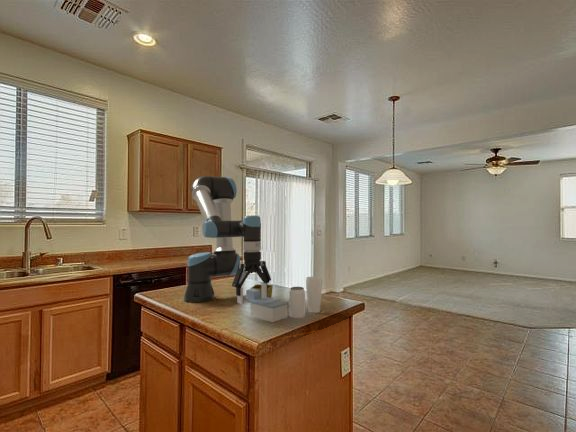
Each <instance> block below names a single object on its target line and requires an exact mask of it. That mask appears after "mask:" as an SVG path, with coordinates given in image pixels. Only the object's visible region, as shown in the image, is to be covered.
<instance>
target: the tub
mask: <svg viewBox="0 0 576 432" xmlns="http://www.w3.org/2000/svg"><path fill="white" fill-rule="evenodd" d="M250 317H254V318H258V319H260V320H263V321H267V322H270V323H275V322H278V321H280V320H284V319H286V318H287V305H284V306H280V307H277V308H273V309H271V308H268V307H264V306H260V305H256V304H253V303H250Z"/></svg>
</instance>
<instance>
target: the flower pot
mask: <svg viewBox="0 0 576 432" xmlns="http://www.w3.org/2000/svg"><path fill="white" fill-rule="evenodd" d="M273 286H274V285H272V284H268V289H267V297H268V298H272V296H273ZM250 289H256V290H260V298H261V284H254V285H253V286H252V287H250Z"/></svg>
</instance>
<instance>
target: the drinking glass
mask: <svg viewBox="0 0 576 432" xmlns="http://www.w3.org/2000/svg"><path fill="white" fill-rule="evenodd" d="M322 281H323V280H322V277H321V276H308V277H306V281H305V286H306V287H305V289H306V298H307V312H308V313H313V314H317V313H320V312H321V301H322V291H323V289H322V288H323V287H322V286H323V283H322Z"/></svg>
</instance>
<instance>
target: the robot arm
mask: <svg viewBox="0 0 576 432" xmlns="http://www.w3.org/2000/svg"><path fill="white" fill-rule="evenodd" d="M237 190H238V189H237V184H236V182H235V181H234V179H233V178H231V177H227V176H210V175H202V176H200V177H198V178H197V179H195V180H194V181H193V183H192V185H191V187H190V194H191V197H192V199H193V200H194V201H196V204H197V207H198V209H199V211H200V214H201V217H202V219H203V222H202V229H201V230H202V236H203V237H204V238H207V239H208V238H209V239H210V238H212V239H215V244H216V245H215V247H216V248H215V249H214V250H213V254H212V252H208V251H206V252H197V253H194V254H191V255H189V256H188V259H187V265H186V266H187V286H186V289H185V291H184V295H183V301H184V302H186V301H187V302H186V303H203V302H204V303H205V302H210V301H213V300H214V299H215V291H214V288H213V285H212V278H218V277H230V276H234V279H233V281H232V283H231V286H232V287H234V288H235V295H236V296H237V297H236V298H237V301H236V303H237V304H240V305H243V304H244V297H243V296H244V288H243V287H242V286H244V283H245V282H246V280H247V278H248V277H249V275H251V274H253V273H256V274H257V275H258V277H259V279H260V280H261V281H262V282H261V283H260V285H261V297H267V289H268V285H269V283H270V282H271V281H272V276H271V275H270V272H269V270H268V267H267V262H266V261H265V260H261V259H262V252H261V250H262V242H261V241H262V238H261V237H262V223H261V221H262V220H261V216H259V215H244V216H243V219H242V220H232V206H231V205H232V203H233V202H234V199H235V198H236V196H237V193H238V191H237ZM233 238H243V251H244V252H243V261H244V262H243V263H241V257H240V254H239V253H237V251H236V249H235V247H233V245H234V244H233Z"/></svg>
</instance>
